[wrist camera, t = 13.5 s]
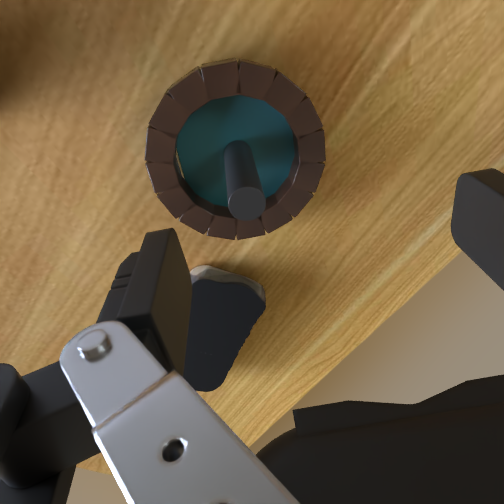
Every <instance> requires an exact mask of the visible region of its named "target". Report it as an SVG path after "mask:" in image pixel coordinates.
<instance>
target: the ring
mask: <svg viewBox="0 0 504 504" xmlns="http://www.w3.org/2000/svg"><path fill="white" fill-rule="evenodd" d="M235 95H242V96H246V97H250V98H255V99H259V100H263V101H265V102H266V103H268V104H269V105H270V106H272V107H273V108H274V109H276V110H277V111H278V112H280V113H281V114H282V115H283V116H284V117H285V119H286V121H287V123H288V125H289V127H290V128H291V130H292V133H293V143H294V154H295V155H294V158H293V162H292V165H291V168H290V172H289V175H288V177H287V178H286V179H285V181H284V182H283V183H282V184H281V186H280V187H279V188H278V190H277V191H276V192H275V193H274V194H272V195H271V196H269V197H267V198H266V207H265V210H264V212H263V213H262V214H261V215H260V216H259V217H258V218H256V219H254V220H251V221H242V220H239V219H237V218H235V217H234V216H233V215H232V214H231V212H230V211H229V208H228V207H225V206H220V205H214V204H212V203H211V202H209V201H207V200H205V199H204V198H202V197H200V196H199V195H197V194H195V192H194V191H193V190H192V188H191V187H190V186H189V185H188V183H187V182H186V181H185V179H184V178H183V177H182V175H181V172H180V168H179V165H178V161H177V158H176V146H177V138H178V134H179V132H180V131H181V129H182V127H183V126H184V124H185V122H186V121H187V119H188V117H189V116H190V115H191V114H192V113H193V112H195V111H196V110H198V109H199V108H201V107H202V106H204V105H205V104H206V103H208V102H209V101H211V100H213V99H219V98H224V97H229V96H235ZM322 127H323V125H322V123H321V121H320V119H319V117H318V115H317V113H316V111H315V109H314V106H313V104H312V102H311V100H310V98H309V97H308V96H307V95H306V93H305V92H304V91H302V90H301V89H300V88H299V87H298V86H296V85H295V84H294V83H293V82H292V81H290V80H289V79H288V78H287V77H285V76H284V75H283V74H282V73H281V72H279V71H278V70H277V69H276V68H275V69H274V68H273V67H271V66H268V65H264V64H260V63H256V62H253V61H249V60H245V59H241V58H239V61H238V63H237V60H236V58H232V59H227V60H222V61H216V62H211V63H206V64H202V65H201V69H200V68H199V66H197V67H196V68H194V69H193V70H192V71H190V72H189V73H188V74H186V75H185V76H183V77H182V78H181V79H179V80H178V81H177V82H175V83H174V84H172V85H171V87H170V88H169V89H168V90H167V91H166V93H165V95H164V97H163V98H162V100H161V102H160V104H159V106H158V107H157V109H156V111H155V113H154V115H153V116H152V118H151V120H150V122H149V126H148V128H147V137H146V149H145V160H146V163H145V165H146V168H147V171H148V174H149V177H150V180H151V183H152V186H153V189H154V192H155V193H158V194H157V197H158V198H159V199H160V201H161V202H162V203H163V204H164V205H165V207H166V208H167V209H168V210H169V211H170V212H171V214H172V215H173V216H174V217H175V218H178V217H179V221H180V222H182V223H184V224H185V225H187V226H189V227H191V228H193V229H195V230H196V231H198V232H200V233H202V234H205V232H206V231H207V236H213V237H219V238H225V239H232V240H235V236H236V235H237V239H238V240H240V239H246V238H251V237H256V236H262V235H265V230H266V232H267V233H270V232H272V231H274V230H276V229H277V228H279V227H281V226H282V225H284V224H286V223H288V222H289V221H291V220H292V217H291V215H292V216H293V217H296V216H297V215H298V214H299V212H300V211H301V210H302V209H303V208H304V206H305V205H306V204H307V203H308V202H309V201H310V199H311V198H312V197H313V194H312V192H314V193H315V192H316V189H317V187H318V184H319V181H320V178H321V175H322V172H323V169H324V167H325V164H324V163H323V162H324V161H325V160H326V157H325V137H324V130H323V129H322Z"/></svg>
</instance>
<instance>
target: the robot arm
mask: <svg viewBox="0 0 504 504" xmlns="http://www.w3.org/2000/svg"><path fill="white" fill-rule="evenodd" d="M451 233H452V236H453V239H454V241H455V243H456V244H457V245H458V247H459V248H461V249H462V250H463V251H464V252H465V253H466V254H467V255H468V256H469V257H470V258H471V259H472V260H473V261H474V262H475V263H476V264H477V265H478V266H479V267H480V268H481V269H482V270H483V271H484V272H485V273H486V274H487V275H488V276H489V277H490V278H491V279H492V280H493V281H494V282H496V284H497V285H498V286H499V287H501V289H503V290H504V174H503V173H502V172H500V171H498V170H496V169H494V168H490V169H485V170H479V171H474V172H469V173H464V174H462V175H460V177H459V178H458V181H457V185H456V191H455V199H454V206H453V213H452V220H451ZM191 299H192V281H191V276H190V272H189V269H188V266H187V263H186V260H185V257H184V254H183V251H182V248H181V245H180V242H179V239H178V236H177V234H176V232H175V230H174V229H173V228H170V229H164V230H159V231H154V232H148V233H146V235H145V238H144V240H143V243H142V246H141V249H140V252H134V253H131V254H130V255H129V256H128V257H127V258H126V259H125V260H124V261H123V262H122V263H121V264H120V266H119V269H118V271H117V274H116V276H115V280H114V281H113V283H112V286H111V290H110V291H109V293H108V295H107V298H106V300H105V303H104V305H103V308H102V310H101V312H100V315H99V317H98V320H97V322H96V324H94V325H92V326H89V327H87V328H85V329H84V330H82V331H81V332H79V333H78V334H76V335H75V336H74V337H73V338H72V339H71V340H70V341H69V342H68V343H67V344H66V345H65V347H64V349H63V350H62V353H61V355H60V361H58V362H56V363H53V364H51V365H48V366H46V367H44V368H41V369H39V370H37V371H34V372H32V373H29V374H27V375H25V376H22V377H21V376H20V374H19V373H18V372H17V371H16V369H15V368H14V367H13V366H12V365H9V364H5V363H0V504H66V502H67V498H68V494H69V491H70V487H71V483H72V480H73V476H74V472H75V468H76V465H77V464H78V463H80V462H82V461H84V460H86V459H88V458H90V457H92V456H94V455H96V454H98V453H100V452H102V454H103V456H104V458H105V459H106V461H107V463H108V465H109V467H110V469H111V471H112V473H113V475H114V477H115V479H116V480H117V482H118V484H119V486H120V488H121V490H122V492H123V494H124V496H125V498H126V500H127V502H128V503H129V504H504V375H498V376H492V377H487V378H480V379H474V380H469V381H465V382H463V383H461V384H459V385H457V386H455V387H452V388H450V389H448V390H446V391H444V392H442V393H439V394H437V395H435V396H433V397H430V398H428V399H426V400H424V401H422V402H420V403H416V404H394V403H379V402H363V401H343V402H337V403H331V404H325V405H319V406H313V407H307V408H301V409H295V410H293V415H294V421H295V427H296V428H294V429H292V430H289V431H287V432H285V433H283V434H282V435H280V436H279V437H277V438H275V439H274V440H272V441H271V442H270V443H269V444H267V445H266V446H265V447H264V448H262V449H261V450H260V451H259V452H258V453H257V454H256V455H255V454H254V453H253V452H252V451H251V450H250V449H249V448H248V447H247V446H246V445H245V444H244V443H243V442H242V440H241V439H240V438H239V437H238V436H237V435H236V434H235V433H234V432H233V431H232V430H231V429H230V428H229V426H228V425H227V424H226V423H225V422H224V421H223V420H222V419H221V418H220V417H219V416H218V415H217V414H216V412H215V411H214V410H213V409H212V408H211V407H210V406H209V405H208V404H207V403H206V402H205V401H204V400H203V399H202V397H201V396H200V395H199V394H198V393H197V392H196V391H195V390H194V389H193V388H192V387H191V386H190V385H189V383H188V382H187V381H186V380H185V379H184V378H183V372H184V363H185V354H186V345H187V336H188V327H189V318H190V309H191Z"/></svg>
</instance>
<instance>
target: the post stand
mask: <svg viewBox="0 0 504 504" xmlns="http://www.w3.org/2000/svg"><path fill="white" fill-rule="evenodd" d="M176 149H177V152H178V156H179V160H180V163H181V167H182V171H183V174H184V178H185V181H186V182H187V183H188V185H189V186H190V187H191V188H192V190H193V191H194V192H195V194H197V195H199V196H200V197H202V198H204V199H205V200H207V201H209V202H211V203H212V204H214V205H220V206H225V207H228V208H229V211H230V212H231V214H232V215H233V216H234V217H235V218H237V219H239V220H242V221H251V220H254V219H256V218H258V217H259V216H260V215H261V214H262V213H263V212H264V210H265V207H266V198H267V197H269V196H271V195H272V194H274V193H275V192H276V191H277V190H278V188H279V187H280V186H281V184H282V183H283V182H284V181H285V179H286V178H287V177H288V175H289V172H290V168H291V165H292V162H293V158H294V155H295V154H294V143H293V133H292V130H291V128H290V127H289V125H288V123H287V121H286V119H285V117H284V116H283V115H282V114H281V113H280V112H278V111H277V110H276V109H274V108H273V107H272V106H270V105H269V104H268V103H266V102H265V101H263V100H259V99H255V98H250V97H246V96H242V95H235V96H229V97H224V98H219V99H213V100H211V101H209V102H208V103H206V104H205V105H204V106H202V107H201V108H199V109H198V110H196V111H195V112H193V113H192V114H191V115H190V116H189V117H188V119H187V121H186V122H185V124H184V126H183V127H182V129H181V131H180V132H179V134H178V138H177V146H176Z"/></svg>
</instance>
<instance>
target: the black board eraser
mask: <svg viewBox="0 0 504 504" xmlns="http://www.w3.org/2000/svg"><path fill="white" fill-rule="evenodd" d="M190 276H191V281H192V299H191V309H190V318H189V327H188V336H187V345H186V354H185V363H184V372H183V378H184V379H185V380H186V381H187V382H188V383H189V385H190V386H191V387H192V388H193V389H194V390H195V391H204V392H209V391H213V390H215V389H217V388H218V387H219V386H221V384H222V383H223V382H224V380H225V378H226V376H227V373H228V371H229V370H230V369H231V367H232V365H233V362H234V360H235V358H236V357H237V355H238V352H239V350H240V349H241V347H242V346H243V343H244V342H245V339H246V338H247V337H248V336H249V334H250V331H251V329H252V327H253V325H254V324H255V323H256V321H257V320H258V318H259V317H260V316H261V315H262V314H263V312H264V310H265V308H266V298H265V291H264V288H263V286H262V285H260V284H259V283H258V282H256V281H254V280H252V279H250V278H247V277H245V276H242V275H238V274H235V273H231V272H228V271H225V270H222V269H219V268H215V267H212V266H208V265H202V266H197V267H195V268H193V269H192V271H191V272H190Z"/></svg>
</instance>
